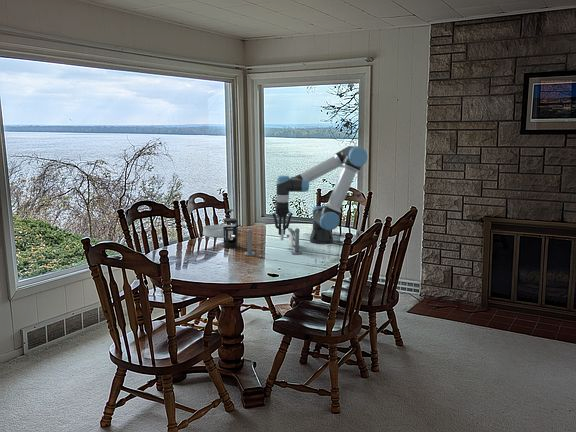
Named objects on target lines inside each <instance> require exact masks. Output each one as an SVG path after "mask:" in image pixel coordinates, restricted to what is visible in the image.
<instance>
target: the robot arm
mask: <svg viewBox="0 0 576 432" xmlns="http://www.w3.org/2000/svg"><path fill="white" fill-rule="evenodd" d="M367 162H368V154H367V151H366V149H364V148H363V147H361V146H353V145H349V146H347V147H344V148H342V149H341V150H340V151H337V152H336V153H334V155H333V156H331V157H329V158H327V159H326V160H324V161H322V162H321V163H318V164H317V165H315V166H312V167H311V168H308V169H306V170H305V171H303V172H301V173H299V174H297V175H295V176H291V177H290V176H289V175H277V178H276V196H275V197H276V199H275V200H276V204H275V211H274V212H271V216H272V217H273V222H274V225H275V229H277V230H278V235H279V241H284V240H285V239H284V238H285V237H284V235H286V230H288V228H290V227H289V226H290V223H291V218H292V217H293V215H294V213H293V212H291V211H290V205H289V203H290V202H289V201H290V200H289V199H290V196H289V195H290V193H291V192H293V193H294V192H296V193H300V192H301V193H305V192H308V191H309V190H310V183H311V182H313V181H314V180H317V179H319V178H321V177H322V176H324V175H327V174H329V173H330V172H332V171H333V170H336V169H338V168H342V169H341V172H340V174H339V176H338V178H337V180H336V183H335V185H334V188H333V189H332V191H331V194H330V196H329V199H328V202H327V203H325V204H323V205H320V206H319V205H317V206H315V205H314V207H312V231H311V233H310V236H309V243H313V244H317V245H318V244H320V245H323V244H332V243H334V236H333V233H332V231H333V230H335V229H337V228H338V227H339V225H340V217H341V214H342V210H341V208H342V206H343V203H344V202H345V199H346V197H347V195H348V191H349V190H350V187H351V185H352V182H353V181H354V178H355V176H356V174H357V173H358V172H360V171H361V168H362V167H363V166H364V165H365V164H366V163H367ZM277 216H278V220H277Z"/></svg>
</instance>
